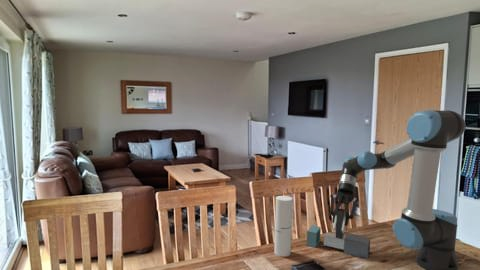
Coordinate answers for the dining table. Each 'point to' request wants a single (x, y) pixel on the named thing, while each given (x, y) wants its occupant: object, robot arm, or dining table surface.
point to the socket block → (313, 236)
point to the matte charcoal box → (357, 245)
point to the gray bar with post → (337, 238)
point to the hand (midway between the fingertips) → (338, 230)
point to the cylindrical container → (283, 226)
